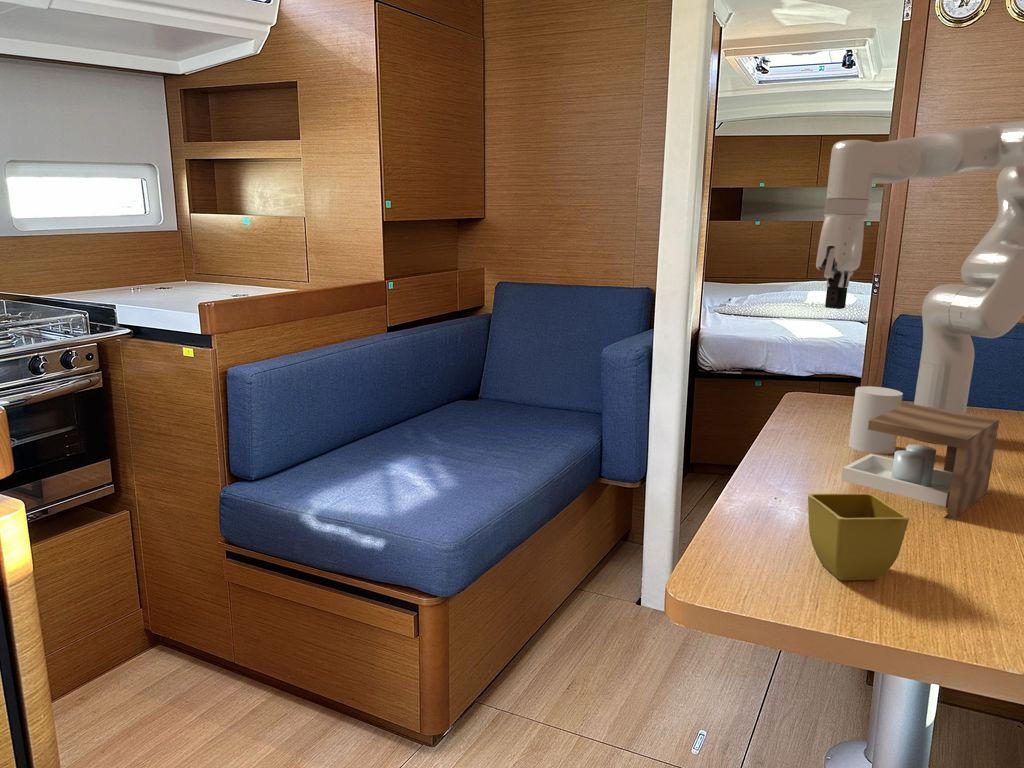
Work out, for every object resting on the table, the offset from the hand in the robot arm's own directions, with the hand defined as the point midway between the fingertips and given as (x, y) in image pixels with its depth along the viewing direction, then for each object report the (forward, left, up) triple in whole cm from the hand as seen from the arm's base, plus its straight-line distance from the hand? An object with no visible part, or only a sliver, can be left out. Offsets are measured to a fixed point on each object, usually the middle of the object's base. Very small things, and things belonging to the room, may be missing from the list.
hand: (834, 307), depth 147 cm
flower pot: (+54, +27, -27) cm, 66 cm away
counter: (+15, +24, -27) cm, 39 cm away
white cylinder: (-3, +9, -27) cm, 29 cm away
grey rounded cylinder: (+13, +22, -26) cm, 37 cm away
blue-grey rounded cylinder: (+18, +22, -26) cm, 39 cm away
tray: (+15, +21, -27) cm, 38 cm away
